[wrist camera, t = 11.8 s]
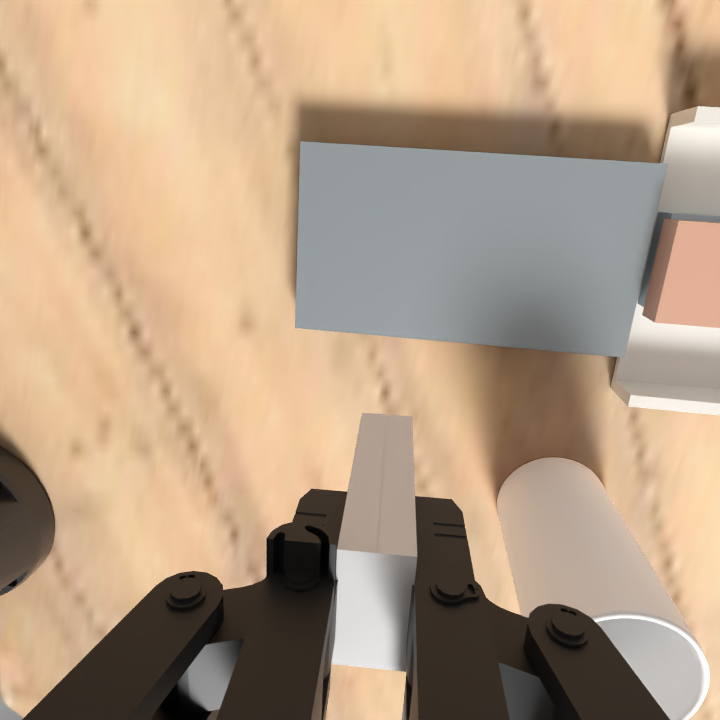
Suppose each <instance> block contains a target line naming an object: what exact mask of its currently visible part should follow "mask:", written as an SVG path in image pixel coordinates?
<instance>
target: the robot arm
mask: <svg viewBox="0 0 720 720" xmlns="http://www.w3.org/2000/svg"><path fill="white" fill-rule="evenodd" d="M54 533H55V525H54V517H53V512H52V508H51V505H50V503H49V500H48V498H47V496H46V494H45V492H44V490H43V488H42V487H41V485H40V483H39V482H38V481H37V479H36V478H35V477H34V475H33V474H32V473H31V472H30V471H29V470H28V469H27V467H26V466H25V465H23V464H22V463H21V462H20V461H19V460H18V459H17V458H16V457H14V456H13V455H12V454H10V453H9V452H7V451H6V450H4V449H3V448H1V447H0V596H1V595H3V594H5V593H7V592H9V591H11V590H13V589H15V588H16V587H18V586H19V585H20V584H22V583H23V582H24V581H25V580H26V579H27V578H28V577H29V576H30V575H31V574H32V573H33V572H34V571H35V570H36V569H37V568H38V567H39V566H40V565H41V564H42V563H43V562H44V561H45V560H46V558H47V556H48V555H49V553H50V551H51V548H52V545H53V541H54ZM331 662H332V664H337V665H346V666H356V667H366V668H375V669H385V670H394V671H404V672H406V668H407V674H406V684H405V694H404V704H403V714H402V720H670V719H669V717H668V716H667V715H666V713H665V712H664V711H663V709H662V708H661V707H660V705H659V704H658V703H657V701H656V700H655V699H654V697H653V696H652V695H651V693H650V692H649V691H648V689H647V688H646V687H645V685H644V684H643V683H642V681H641V680H640V679H639V677H638V676H637V675H636V673H635V672H634V671H633V669H632V668H631V667H630V665H629V664H628V663H627V661H626V660H625V659H624V657H623V656H622V655H621V653H620V652H619V651H618V649H617V648H616V647H615V645H614V644H613V643H612V641H611V640H610V639H609V637H608V636H607V635H606V633H605V632H604V631H603V629H602V628H601V627H600V626H599V625H598V624H597V623H596V622H595V621H594V620H593V619H592V618H591V617H589V616H588V615H586V614H584V613H583V612H581V611H579V610H578V609H575V608H572V607H569V606H566V605H562V604H545V605H541V606H537V607H536V608H535V609H534V610H533V611H532V612H530V614H529V618H527V617H524V616H521V615H518V614H515V613H512V612H510V611H507V610H505V609H503V608H500V607H498V606H497V605H495V604H494V603H492V602H490V601H489V600H488V599H487V598H486V597H485V594H484V592H483V590H482V588H481V586H480V585H479V584H478V583H477V582H476V581H475V578H474V573H473V568H472V562H471V557H470V551H469V546H468V540H467V535H466V529H465V524H464V518H463V513H462V511H461V510H460V509H459V507H458V506H457V505H456V504H455V503H454V501H453V500H452V499H441V498H429V497H418V496H415V484H414V457H413V431H412V417H411V416H398V415H385V414H372V413H362V416H361V422H360V427H359V433H358V438H357V443H356V449H355V454H354V460H353V465H352V471H351V476H350V482H349V487H348V492H343V491H331V490H320V489H311V490H310V491H309V492H308V493H306V494H305V495H304V496H303V497H302V498H301V499H300V501H299V504H298V507H297V510H296V514H295V516H294V519H293V522H291V523H287V524H284V525H281V526H279V527H278V528H276V529H274V530H273V531H272V532H271V533H270V535H269V536H268V537H267V575H266V578H265V579H264V580H262V581H260V582H258V583H255V584H253V585H249V586H245V587H240V588H234V589H227V590H223V585H222V584H221V583H220V581H219V580H218V579H217V578H216V577H214V576H212V575H210V574H208V573H205V572H197V571H191V572H183V573H178V574H176V575H173V576H171V577H168V578H166V579H165V580H163V581H162V582H161V583H159V584H158V585H156V586H155V587H154V588H153V589H152V590H151V591H150V592H149V593H148V594H147V595H146V596H145V597H144V598H143V599H142V600H141V601H140V602H139V603H138V604H137V605H136V606H135V607H134V608H133V609H132V610H131V611H130V612H129V613H128V614H127V615H126V616H125V617H124V618H123V619H122V620H121V621H120V622H119V623H118V624H117V625H116V626H115V627H114V628H113V629H112V630H111V631H110V632H109V633H108V634H107V635H106V636H105V637H104V638H103V639H102V640H101V641H100V642H99V643H98V644H97V645H96V646H95V647H94V648H93V649H92V650H91V651H90V652H89V653H88V654H87V655H86V656H85V657H84V658H83V659H82V660H81V661H80V662H79V663H78V664H77V665H76V666H75V667H74V668H73V669H72V670H71V671H70V672H69V673H68V674H67V675H66V676H65V677H64V678H63V679H62V680H61V681H60V682H59V683H58V684H57V685H56V686H55V687H54V688H53V689H52V690H51V691H50V692H49V693H48V694H47V695H46V696H45V697H44V698H43V699H42V700H41V701H40V702H39V703H38V704H37V705H36V706H35V707H34V708H33V709H32V710H31V711H30V712H29V713H28V714H27V715H26V716H25V717H24V718H23V719H22V720H325V717H326V711H327V704H328V697H329V690H330V672H331Z"/></svg>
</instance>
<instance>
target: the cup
mask: <svg viewBox="0 0 720 720" xmlns="http://www.w3.org/2000/svg"><path fill="white" fill-rule="evenodd" d="M497 512H498V517H499V521H500V526H501V530H502V534H503V539H504V543H505V547H506V552H507V556H508V560H509V565H510V569H511V573H512V578H513V582H514V586H515V591H516V595H517V599H518V604H519V608H520V612H521V616H524V617H527V618H529V614H530V612H532V611H533V610H534V609H535V608H536V607H537V606H541V605H545V604H562V605H566V606H569V607H572V608H575V609H578V610H579V611H581V612H583V613H584V614H586V615H588V616H589V617H591V618H592V619H593V620H594V621H595V622H596V623H597V624H598V625H599V626H600V627H601V628H602V629H603V631H604V632H605V633H606V635H607V636H608V637H609V639H610V640H611V641H612V643H613V644H614V645H615V647H616V648H617V649H618V651H619V652H620V653H621V655H622V656H623V657H624V659H625V660H626V661H627V663H628V664H629V665H630V667H631V668H632V669H633V671H634V672H635V673H636V675H637V676H638V677H639V679H640V680H641V681H642V683H643V684H644V685H645V687H646V688H647V689H648V691H649V692H650V693H651V695H652V696H653V697H654V699H655V700H656V701H657V703H658V704H659V705H660V707H661V708H662V709H663V711H664V712H665V713H666V715H667V716H668V717H669V719H670V720H688V719H689V718H690V717H691V716H692V715H693V714H694V713H695V712H696V711H697V710H698V709H699V707H700V706H701V704H702V702H703V701H704V699H705V696H706V694H707V691H708V687H709V680H710V676H709V667H708V664H707V660H706V658H705V656H704V653H703V651H702V649H701V647H700V645H699V644H698V642H697V640H696V639H695V637H694V635H693V634H692V632H691V630H690V629H689V627H688V625H687V624H686V622H685V620H684V619H683V617H682V615H681V614H680V612H679V610H678V609H677V607H676V605H675V604H674V602H673V600H672V599H671V597H670V595H669V594H668V592H667V590H666V589H665V587H664V585H663V584H662V582H661V581H660V579H659V577H658V576H657V574H656V572H655V571H654V569H653V567H652V566H651V564H650V562H649V561H648V559H647V557H646V556H645V554H644V552H643V551H642V549H641V547H640V546H639V544H638V542H637V541H636V539H635V537H634V536H633V534H632V532H631V531H630V529H629V528H628V526H627V524H626V523H625V521H624V519H623V518H622V516H621V514H620V513H619V511H618V509H617V508H616V506H615V504H614V503H613V501H612V499H611V498H610V496H609V494H608V493H607V491H606V489H605V488H604V486H603V484H602V483H601V481H600V480H599V478H598V477H597V476H596V475H595V474H594V473H593V472H592V471H591V470H590V469H589V468H587V467H586V466H584V465H582V464H581V463H578V462H576V461H573V460H570V459H566V458H558V457H548V458H541V459H537V460H534V461H531V462H528V463H526V464H524V465H522V466H521V467H519V468H517V469H516V470H515V471H514V472H512V473H511V474H510V475H509V476H508V478H507V479H506V480H505V481H504V483H503V485H502V486H501V489H500V491H499V494H498V499H497Z"/></svg>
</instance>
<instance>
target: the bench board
mask: <svg viewBox="0 0 720 720" xmlns="http://www.w3.org/2000/svg"><path fill="white" fill-rule="evenodd" d="M667 165H668V164H664V163H647V162H631V161H614V160H598V159H582V158H565V157H549V156H533V155H516V154H500V153H483V152H467V151H451V150H434V149H418V148H402V147H385V146H369V145H352V144H336V143H320V142H303V141H300V170H299V206H298V243H297V279H296V315H295V328H302V329H313V330H324V331H335V332H346V333H357V334H368V335H379V336H391V337H402V338H413V339H424V340H435V341H446V342H457V343H468V344H479V345H490V346H502V347H513V348H524V349H535V350H546V351H557V352H568V353H579V354H590V355H601V356H612V357H625V353H626V348H627V344H628V340H629V335H630V331H631V326H632V322H633V317H634V313H635V308H636V304H637V299H638V295H639V290H640V286H641V282H642V277H643V273H644V268H645V264H646V259H647V255H648V250H649V246H650V241H651V237H652V232H653V228H654V223H655V219H656V215H657V210H658V206H659V201H660V197H661V192H662V188H663V183H664V179H665V174H666V170H667Z"/></svg>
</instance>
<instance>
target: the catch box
mask: <svg viewBox="0 0 720 720" xmlns="http://www.w3.org/2000/svg"><path fill="white" fill-rule="evenodd" d="M660 163H664V164H668V165H667V170H666V174H665V179H664V183H663V188H662V192H661V197H660V201H659V206H658V210H657V215H656V219H655V223H654V228H653V232H652V237H651V241H650V246H649V250H648V255H647V259H646V264H645V268H644V273H643V277H642V282H641V286H640V290H639V295H638V299H637V304H636V308H635V313H634V317H633V322H632V326H631V331H630V335H629V340H628V344H627V348H626V353H625V357H617V360H616V365H615V370H614V374H613V379H612V383H611V389H612V390H613V391H614V392H615V393H616V394H617V395H618V396H619V397H620V398H621V399H622V401H623V402H624V403H625V404H626V405H627V406H630V407H640V408H650V409H660V410H671V411H681V412H691V413H701V414H712V415H720V328H713V327H701V326H689V325H677V324H666V323H654V322H653V321H651V320H649V319H648V318H646V317H644V316H643V315H642V313H643V309H644V307H642V306H641V305H639V304H638V302H639V297H640V293H641V288H642V284H643V279H644V275H645V270H646V266H647V262H648V257H649V253H650V248H651V244H652V239H653V235H654V230H655V226H656V221H657V217H658V213H659V212H671V213H685V214H700V215H715V216H720V107H704V106H697V107H693V108H690V109H686V110H683V111H679V112H676V113H673V114H671V115H670V119H669V124H668V128H667V133H666V137H665V142H664V147H663V151H662V156H661V160H660Z"/></svg>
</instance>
